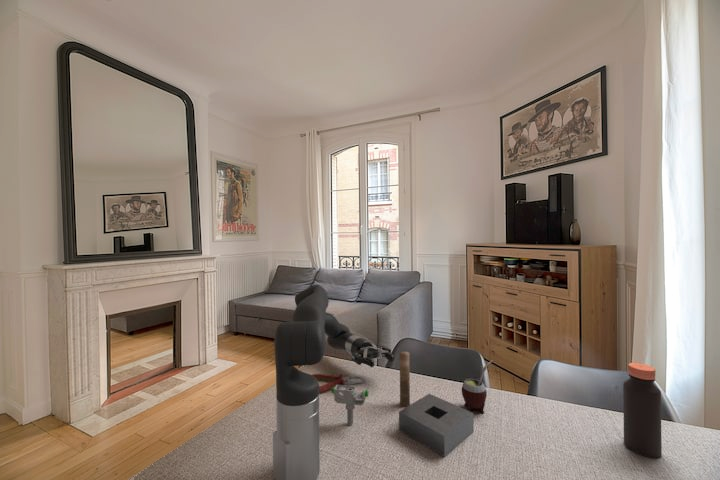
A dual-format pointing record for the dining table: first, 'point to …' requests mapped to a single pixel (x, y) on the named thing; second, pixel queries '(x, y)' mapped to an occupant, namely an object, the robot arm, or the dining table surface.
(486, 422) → the dining table surface
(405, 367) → the pin
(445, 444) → the grey square hole block
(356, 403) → the mechanical component
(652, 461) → the dining table surface
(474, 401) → the mate gourd
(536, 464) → the dining table surface
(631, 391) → the bottle
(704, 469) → the dining table surface
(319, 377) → the pliers
